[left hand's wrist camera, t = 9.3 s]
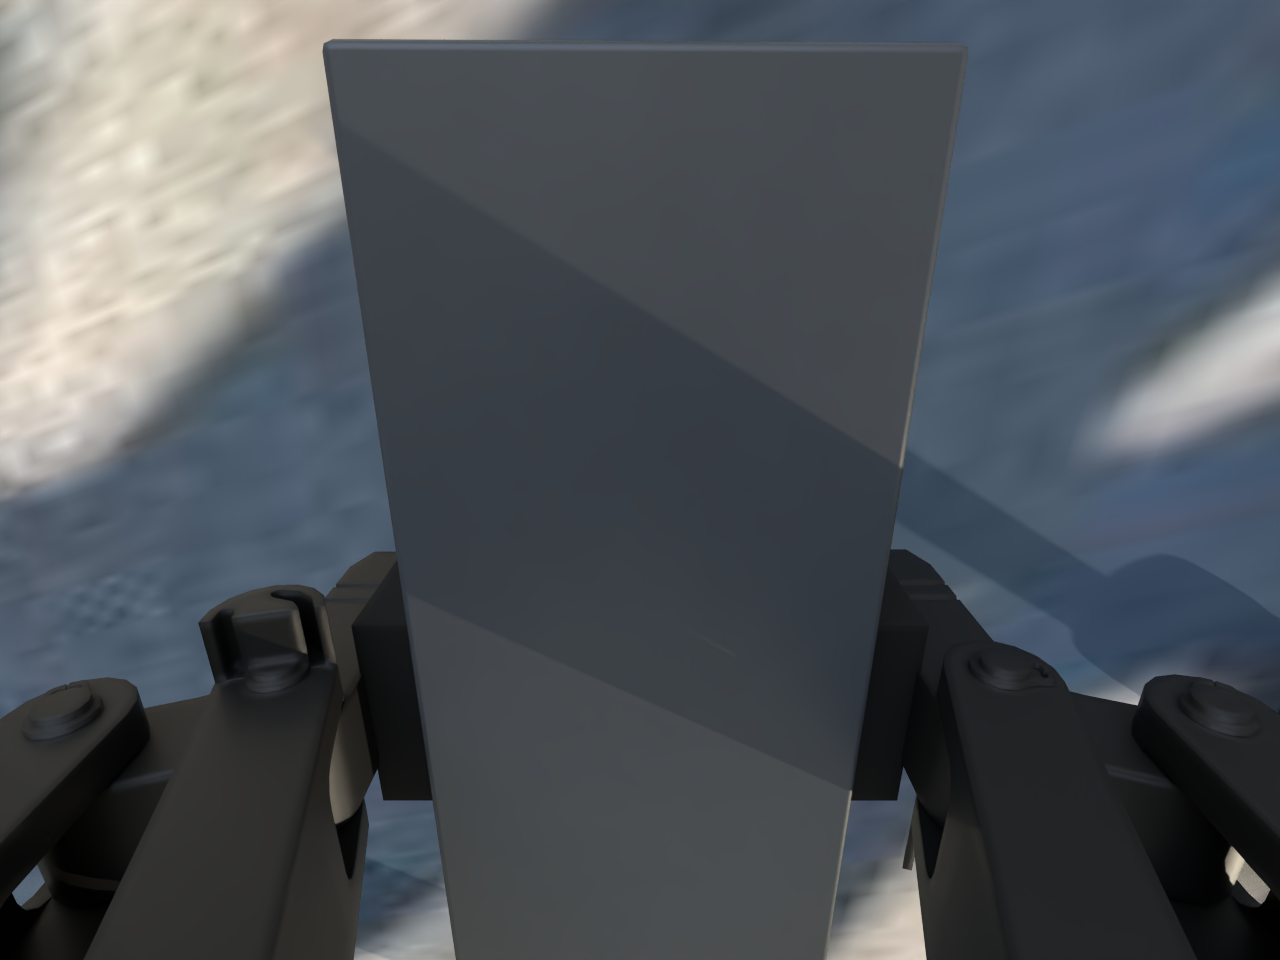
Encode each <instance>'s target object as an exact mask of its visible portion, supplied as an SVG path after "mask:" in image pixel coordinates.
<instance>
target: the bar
mask: <svg viewBox="0 0 1280 960" xmlns="http://www.w3.org/2000/svg"><path fill="white" fill-rule="evenodd" d="M323 58H324V65H325V72H326V79H327V85H328V92H329V99H330V106H331V113H332V119H333V126H334V133H335V140H336V147H337V153H338V160H339V167H340V174H341V181H342V187H343V194H344V201H345V208H346V215H347V221H348V228H349V235H350V242H351V249H352V255H353V262H354V269H355V276H356V283H357V289H358V296H359V303H360V310H361V317H362V323H363V330H364V337H365V344H366V351H367V357H368V364H369V371H370V378H371V384H372V391H373V398H374V405H375V412H376V418H377V425H378V432H379V439H380V446H381V452H382V459H383V466H384V473H385V480H386V486H387V493H388V500H389V507H390V514H391V520H392V527H393V534H394V541H395V548H396V554H397V561H398V568H399V575H400V582H401V588H402V595H403V602H404V609H405V616H406V622H407V629H408V636H409V643H410V650H411V656H412V663H413V670H414V677H415V684H416V690H417V697H418V704H419V711H420V718H421V724H422V731H423V738H424V745H425V752H426V758H427V765H428V772H429V779H430V786H431V792H432V799H433V806H434V813H435V820H436V826H437V833H438V840H439V847H440V854H441V860H442V867H443V874H444V881H445V887H446V894H447V901H448V908H449V915H450V921H451V928H452V935H453V942H454V949H455V955H456V960H826V956H827V950H828V943H829V937H830V931H831V924H832V918H833V911H834V905H835V899H836V892H837V886H838V880H839V873H840V867H841V860H842V854H843V848H844V841H845V835H846V829H847V822H848V816H849V810H850V803H851V797H852V790H853V784H854V778H855V771H856V765H857V759H858V752H859V746H860V740H861V733H862V727H863V720H864V714H865V708H866V701H867V695H868V689H869V682H870V676H871V669H872V663H873V657H874V650H875V644H876V638H877V631H878V625H879V619H880V612H881V606H882V599H883V593H884V587H885V580H886V574H887V568H888V561H889V555H890V548H891V542H892V536H893V529H894V523H895V517H896V510H897V504H898V498H899V491H900V485H901V478H902V472H903V466H904V459H905V453H906V447H907V440H908V434H909V427H910V421H911V415H912V408H913V402H914V396H915V389H916V383H917V377H918V370H919V364H920V357H921V351H922V345H923V338H924V332H925V326H926V319H927V313H928V306H929V300H930V294H931V287H932V281H933V275H934V268H935V262H936V256H937V249H938V243H939V236H940V230H941V224H942V217H943V211H944V205H945V198H946V192H947V186H948V179H949V173H950V166H951V160H952V154H953V147H954V141H955V135H956V128H957V122H958V115H959V109H960V103H961V96H962V90H963V84H964V77H965V71H966V65H967V58H968V51H967V47H966V46H964V45H962V44H960V43H931V42H751V41H571V40H391V39H332V40H330V41H328V42H326V43H324V45H323Z"/></svg>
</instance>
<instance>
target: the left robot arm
mask: <svg viewBox="0 0 1280 960" xmlns="http://www.w3.org/2000/svg"><path fill="white" fill-rule="evenodd" d="M944 583H945V582H944V580H943V579H942V578H941V577H940V576H939V574H938V573H937V572H936V571H935V570H934V568H933V567H932V566H931V565H930V564H929V563H927V562H925V561H924V560H922V559H921V558H919V557H917V556H916V555H914V554H912V553H911V552H909V551H907V550H890V555H889V561H888V568H887V574H886V580H885V587H884V593H883V599H882V606H881V612H880V619H879V625H878V631H877V638H876V644H875V650H874V657H873V663H872V669H871V676H870V682H869V689H868V695H867V701H866V708H865V714H864V720H863V727H862V733H861V740H860V746H859V752H858V759H857V765H856V771H855V778H854V784H853V790H852V797H851V800H897V797H898V792H899V787H900V781H901V776H902V770H903V766H904V768H905V770H906V773H907V775H908V777H909V779H910V781H911V783H912V785H913V787H914V789H915V792H916V794H917V795H916V800H915V805H914V810H913V815H912V820H911V825H910V830H909V835H908V840H907V845H906V850H905V856H904V862H903V869H908V870H912V866H913V862H914V857H915V862H916V871H917V879H918V888H919V897H920V906H921V914H922V923H923V932H924V940H925V949H926V958H927V960H1280V715H1279V714H1278V713H1277V712H1275V711H1273V710H1272V709H1270V708H1269V707H1267V706H1266V705H1264V704H1263V703H1261V702H1260V701H1258V700H1257V699H1255V698H1253V697H1251V696H1249V695H1246V694H1244V693H1242V692H1240V691H1238V690H1235V689H1234V688H1233V687H1231V686H1229V685H1226V684H1223V683H1220V682H1217V681H1216V682H1213V681H1212V680H1210V679H1205V678H1201V677H1191V676H1183V675H1175V674H1174V675H1166V676H1158V677H1154V678H1153V679H1152V680H1150V681H1149V682H1147V683H1146V684H1145V686H1144V689H1143V692H1142V695H1141V698H1140V701H1139V704H1138V706H1137V705H1132V704H1127V703H1122V702H1117V701H1112V700H1107V699H1102V698H1097V697H1092V696H1087V695H1082V694H1078V693H1074V692H1070V691H1069V690H1068V687H1067V685H1066V683H1065V682H1064V680H1063V679H1062V678H1061V676H1060V675H1059V674H1058V673H1057V671H1056V670H1055V669H1054V668H1053V667H1052V666H1050V665H1049V664H1047V663H1046V662H1044V661H1043V660H1041V659H1040V658H1039V657H1037V656H1035V655H1033V654H1031V653H1029V652H1026V651H1024V650H1022V649H1019V648H1017V647H1015V646H1011V645H1006V644H1002V643H998V642H994V641H993V640H992V639H991V638H990V636H989V635H988V634H987V633H986V632H985V630H984V629H983V628H982V627H981V625H980V624H979V623H978V622H977V621H976V619H975V618H974V617H973V616H972V615H971V613H970V612H969V611H968V610H967V608H966V607H965V606H964V605H963V604H962V602H961V601H960V600H957V599H956V595H955V594H954V593H953V591H952V590H951V589H950V588H949V587H948V585H945V584H944ZM198 623H199V627H200V630H201V634H202V637H203V641H204V644H205V648H206V652H207V655H208V659H209V662H210V666H211V669H212V673H213V676H214V680H215V685H214V687H213V689H212V691H211V693H210V695H206V696H202V697H198V698H194V699H189V700H184V701H179V702H174V703H169V704H164V705H159V706H154V707H148V708H143V705H142V702H141V699H140V696H139V693H138V690H137V687H135V686H134V685H133V684H131V683H130V682H129V681H127V680H124V679H116V678H108V677H107V678H99V679H91V680H81V681H77V682H72V683H70V684H69V685H66V684H65V685H62V686H59V687H56V688H53V689H51V690H49V691H48V692H46V693H44V694H42V695H40V696H38V697H36V698H33V699H31V700H29V701H27V702H25V703H24V704H22V705H21V706H19V707H18V708H16V709H15V710H13V711H12V712H10V713H9V714H7V715H6V716H4V717H3V718H2V719H0V960H354V951H355V942H356V933H357V925H358V916H359V907H360V899H361V890H362V881H363V873H364V864H365V855H366V846H367V838H368V829H369V822H368V816H367V810H366V805H365V800H364V796H365V794H366V792H367V790H368V788H369V785H370V783H371V781H372V779H373V777H374V775H375V773H376V771H377V768H378V773H379V779H380V784H381V790H382V795H383V800H433V799H432V792H431V786H430V779H429V772H428V765H427V758H426V752H425V745H424V738H423V731H422V724H421V718H420V711H419V704H418V697H417V690H416V684H415V677H414V670H413V663H412V656H411V650H410V643H409V636H408V629H407V622H406V616H405V609H404V602H403V595H402V588H401V582H400V575H399V568H398V561H397V554H396V552H374V553H372V554H370V555H369V556H367V557H365V558H364V559H362V560H361V561H359V562H357V563H356V564H354V565H352V566H351V567H350V568H349V569H348V570H347V572H346V573H345V574H344V575H343V576H342V578H341V579H340V580H339V581H338V583H337V584H336V588H333V589H332V590H331V591H330V592H329V594H328V595H327V596H326V597H325V598H324V595H323V594H321V593H320V592H319V591H317V590H316V589H315V588H311V587H306V586H301V585H275V586H270V587H266V588H261V589H256V590H251V591H249V592H246V593H243V594H241V595H238V596H235V597H233V598H230V599H228V600H226V601H225V602H223V603H221V604H219V605H218V606H216V607H214V608H213V609H211V610H210V611H209V612H208V613H207V614H206V615H205V616H204V617H203V618H202V619H201V620H200V621H199V622H198ZM1245 861H1246V862H1247V864H1248V865H1249V866H1250V867H1251V868H1252V869H1253V870H1254V871H1255V872H1256V874H1257V875H1258V876H1259V877H1260V878H1261V879H1262V880H1263V881H1264V882H1265V884H1266V885H1267V886H1268V887H1269V888H1270V889H1271V890H1270V892H1269V894H1268V896H1267V898H1266V900H1265V901H1264V902H1263V903H1262V904H1260V903H1258V902H1257V901H1256V900H1255V899H1254V898H1253V897H1252V896H1251V895H1250V894H1249V893H1248V892H1247V891H1246V890H1245V889H1244V888H1243V886H1242V885H1241V884H1240V883H1239V882H1238V881H1237V878H1238V875H1239V873H1240V871H1241V869H1242V867H1243V865H1244V862H1245ZM36 865H38V867H39V870H40V872H41V874H42V876H43V878H44V881H45V883H44V884H43V885H42V886H41V888H40V889H39V890H38V891H37V892H36V893H35V895H34V896H33V897H32V898H30V899H29V900H28V901H27V902H26V903H25V904H23V905H22V906H20V905H18V904H17V902H16V900H15V898H14V896H13V894H12V892H13V891H14V890H15V888H16V887H17V886H18V885H19V884H20V883H21V882H22V881H23V879H24V878H25V877H26V876H27V875H28V874H29V873H30V872H31V870H32V869H33V868H34V867H35V866H36Z"/></svg>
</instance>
